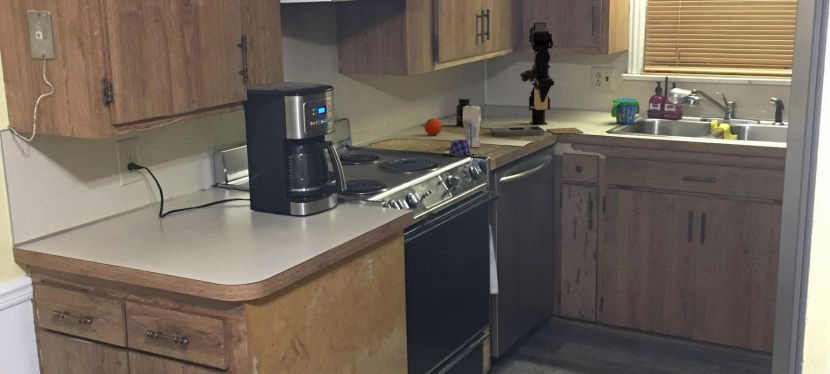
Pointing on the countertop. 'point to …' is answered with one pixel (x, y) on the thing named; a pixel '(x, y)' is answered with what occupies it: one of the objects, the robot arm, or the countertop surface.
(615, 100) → the snack cup
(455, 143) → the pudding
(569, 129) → the copper pad
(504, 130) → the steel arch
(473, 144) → the beer glass
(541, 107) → the wood grain block
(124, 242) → the countertop surface
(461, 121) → the supplement bottle
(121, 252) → the countertop surface
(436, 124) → the clementine
